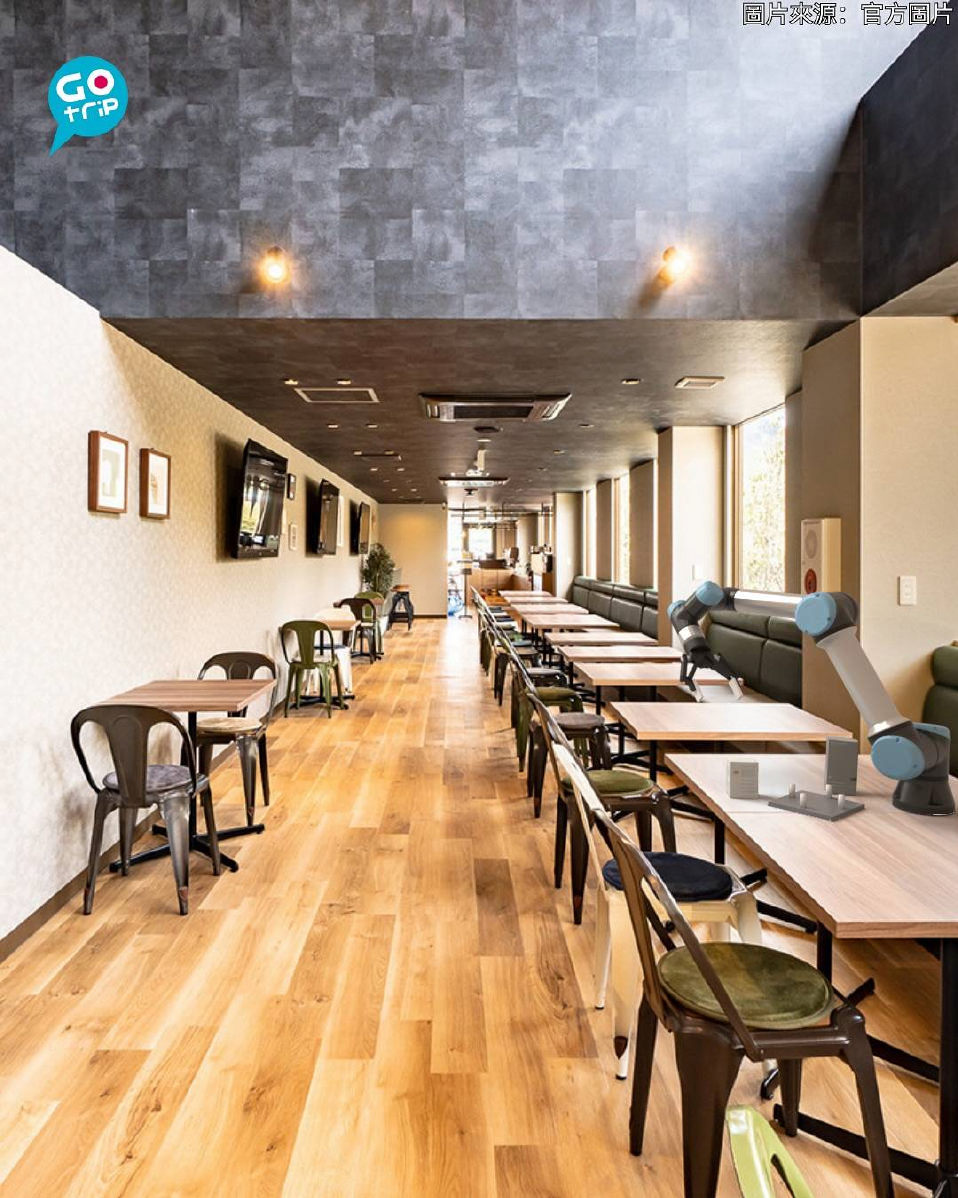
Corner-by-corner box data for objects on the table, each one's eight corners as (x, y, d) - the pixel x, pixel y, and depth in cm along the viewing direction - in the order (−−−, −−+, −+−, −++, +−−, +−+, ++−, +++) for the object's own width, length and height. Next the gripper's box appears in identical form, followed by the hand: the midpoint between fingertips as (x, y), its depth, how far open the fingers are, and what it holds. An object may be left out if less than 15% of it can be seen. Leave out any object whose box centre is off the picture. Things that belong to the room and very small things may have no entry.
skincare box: (826, 794, 239) (827, 739, 238) (823, 787, 246) (824, 734, 245) (858, 796, 237) (859, 741, 236) (854, 790, 243) (856, 736, 243)
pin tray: (801, 794, 239) (802, 777, 238) (864, 808, 225) (864, 790, 225) (768, 805, 227) (768, 788, 227) (832, 821, 213) (832, 803, 213)
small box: (753, 793, 239) (754, 757, 238) (758, 799, 233) (759, 762, 233) (725, 792, 240) (726, 756, 239) (729, 798, 234) (730, 761, 234)
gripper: (723, 649, 267) (750, 704, 254) (654, 651, 260) (678, 707, 246) (733, 634, 262) (762, 689, 249) (663, 636, 255) (688, 692, 241)
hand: (720, 698), depth 247 cm, fingers open, 13 cm apart
